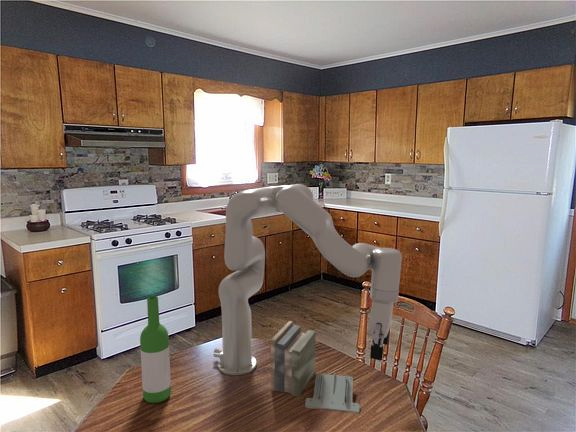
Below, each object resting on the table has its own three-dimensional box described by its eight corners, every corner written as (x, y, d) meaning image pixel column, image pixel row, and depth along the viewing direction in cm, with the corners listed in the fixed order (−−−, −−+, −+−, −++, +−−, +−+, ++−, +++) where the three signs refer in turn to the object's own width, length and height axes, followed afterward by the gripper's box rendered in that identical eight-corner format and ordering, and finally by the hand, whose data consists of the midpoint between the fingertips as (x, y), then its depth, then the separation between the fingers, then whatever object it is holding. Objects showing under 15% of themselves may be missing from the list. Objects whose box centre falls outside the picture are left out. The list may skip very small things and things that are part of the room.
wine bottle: (137, 398, 116) (131, 298, 111) (159, 385, 122) (155, 290, 118) (154, 408, 112) (149, 304, 107) (176, 394, 118) (173, 296, 113)
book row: (271, 389, 121) (270, 339, 118) (289, 366, 134) (289, 320, 131) (299, 396, 117) (299, 345, 115) (314, 372, 130) (315, 325, 128)
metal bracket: (310, 366, 123) (359, 370, 121) (310, 380, 126) (359, 385, 123) (304, 405, 111) (359, 411, 108) (304, 420, 113) (358, 426, 111)
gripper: (376, 281, 120) (371, 335, 123) (364, 301, 104) (359, 362, 107) (402, 285, 117) (396, 340, 120) (393, 306, 101) (388, 369, 104)
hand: (379, 350), depth 114 cm, fingers open, 9 cm apart
